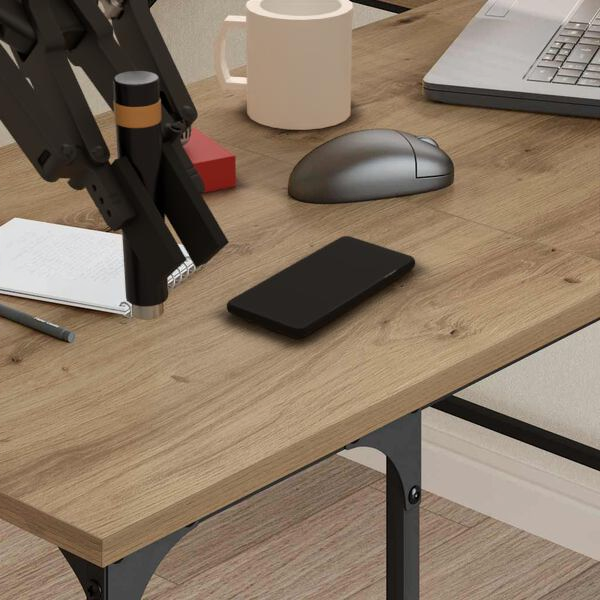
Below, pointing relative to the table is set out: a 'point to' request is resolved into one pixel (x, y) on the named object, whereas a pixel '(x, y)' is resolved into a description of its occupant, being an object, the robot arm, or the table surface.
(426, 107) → the table surface
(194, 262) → the robot arm
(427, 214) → the table surface
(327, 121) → the mug
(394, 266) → the smartphone
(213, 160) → the red rectangular block
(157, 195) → the marker
